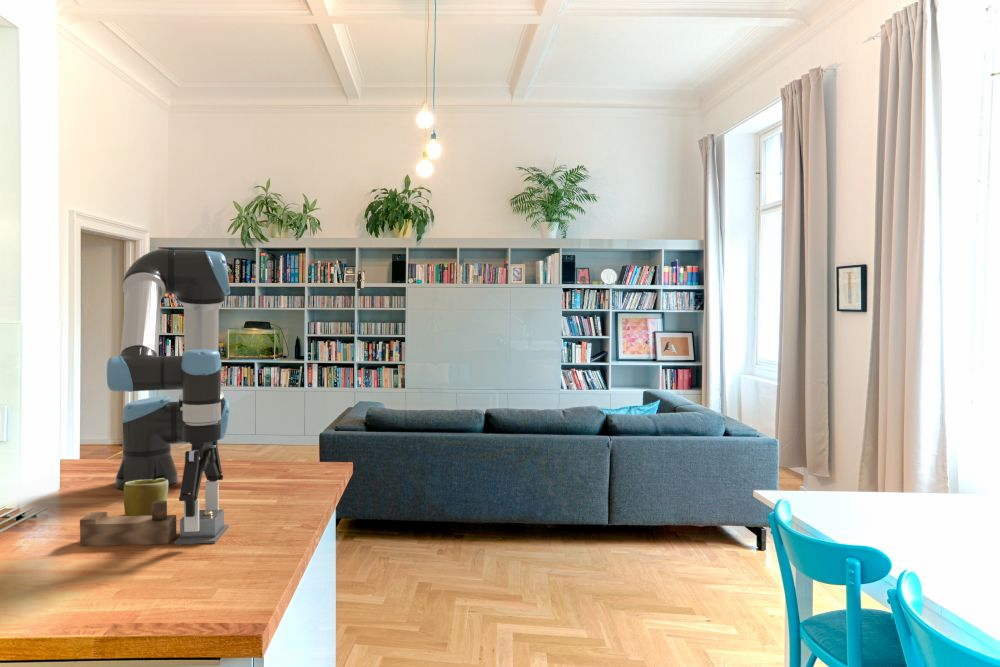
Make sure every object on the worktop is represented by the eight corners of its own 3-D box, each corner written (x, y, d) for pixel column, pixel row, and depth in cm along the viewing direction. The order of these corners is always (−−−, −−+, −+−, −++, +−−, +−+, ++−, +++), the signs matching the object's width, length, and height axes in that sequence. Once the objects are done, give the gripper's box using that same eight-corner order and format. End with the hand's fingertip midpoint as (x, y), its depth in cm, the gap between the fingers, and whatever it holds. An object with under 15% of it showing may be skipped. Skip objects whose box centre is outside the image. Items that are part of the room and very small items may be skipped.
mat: (190, 528, 148) (190, 525, 148) (228, 527, 149) (228, 524, 149) (174, 544, 138) (174, 541, 138) (214, 543, 139) (214, 540, 139)
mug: (151, 516, 150) (146, 472, 152) (114, 527, 152) (109, 483, 154) (190, 511, 162) (184, 470, 164) (154, 521, 164) (149, 480, 166)
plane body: (80, 546, 137) (79, 507, 136) (92, 537, 142) (91, 500, 141) (167, 543, 139) (167, 505, 138) (176, 535, 144) (176, 498, 143)
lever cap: (180, 538, 140) (179, 516, 140) (190, 528, 147) (190, 507, 146) (214, 537, 141) (214, 515, 141) (223, 527, 147) (223, 506, 147)
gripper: (202, 412, 155) (202, 502, 156) (161, 434, 130) (161, 541, 131) (236, 412, 156) (236, 502, 157) (201, 433, 131) (202, 540, 132)
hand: (202, 520), depth 144 cm, fingers open, 13 cm apart
